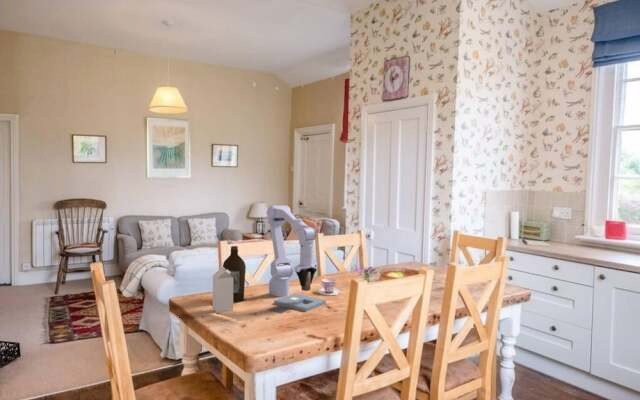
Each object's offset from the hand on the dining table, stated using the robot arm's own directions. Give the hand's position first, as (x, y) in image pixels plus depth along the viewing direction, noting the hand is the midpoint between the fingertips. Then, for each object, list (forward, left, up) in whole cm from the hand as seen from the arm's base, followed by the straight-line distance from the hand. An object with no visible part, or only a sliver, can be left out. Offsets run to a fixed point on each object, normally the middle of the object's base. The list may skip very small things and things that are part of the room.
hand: (305, 285), depth 196 cm
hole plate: (-3, 0, -10) cm, 10 cm away
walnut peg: (0, 0, -2) cm, 2 cm away
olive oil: (-33, -12, -10) cm, 37 cm away
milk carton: (-24, -27, -10) cm, 38 cm away
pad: (-5, -12, -10) cm, 16 cm away
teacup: (-6, +27, -10) cm, 30 cm away
